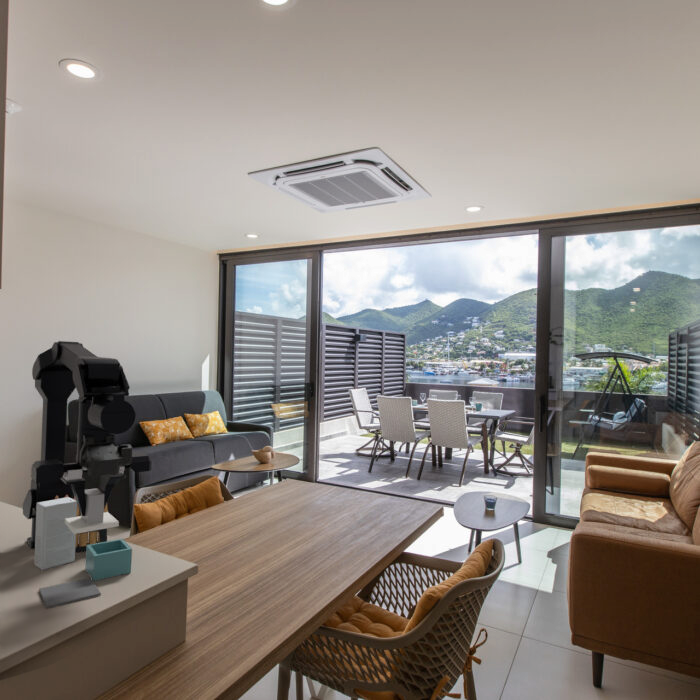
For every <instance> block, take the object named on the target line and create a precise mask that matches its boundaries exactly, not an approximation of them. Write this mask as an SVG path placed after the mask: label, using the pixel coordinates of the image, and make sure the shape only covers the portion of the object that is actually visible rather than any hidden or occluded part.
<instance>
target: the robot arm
mask: <svg viewBox="0 0 700 700" xmlns="http://www.w3.org/2000/svg"><path fill="white" fill-rule="evenodd" d="M32 365H33V366H32V369H31V370H32V371H31V372H32V373H31V374H32V375H31V376H32V380H34V388H35V389H36V391H37V392H38V393H39V395H40V397H41V398H42V417H41V443H40V445H41V446H40V460H36V461H34V462H33V464H32V465H31V470H30V473H31V474H30V478H31V480H30V488H29V489H28V490H27V493H26V496H25V498H24V501H23V503H22V515H23V517H25V518H26V519H27V520H31V531H30V533H31V534H30V536H29V537H27V538H26V541H27V543H28V546H29V548H30V549H34V550H35V533H36V505H37V503H38V502H44V501H49V500H55V497H56V496H58V498H59V499H60V498H65V496H66V495H68V497H69V498H72V499H74V496H75V498H76V501H77V504H78V507H79V514H81V515H82V516H85V512H86V503H85V490H86V489H85V487H86V482H87V480H86V479H85V478H84V477H83V473H84V474H85V473H87V475H88V476H90V477H92V478H100V480H99V482H100V483H99V490H100V491H101V492H102V493H104V508H105V506H106V503H107V504H108V501H109V498H110V496H111V493H112V491H113V489H114V488H115V486H116V484H118V482H119V481H120V480H121V479H126V478H127V477H126V476H127V474H125V473H124V471H125V469H130V470H131V471H132V472H134V473H135V474H136V473H144V472H150V471H152V458H151V457H150V455H148V454H145V453H144V452H141V451H139V452H137V451H136V452H133V447H132V445H131V444H129V443H128V444H127V443H126V444H119V445H117V446H116V442H115V441H116V440H115V435H121V434H123V433H126V432H128V430H130V429H131V428H132V426H133V425H134V423H135V421H136V415H137V413H136V412H135V409H134V406H132V405H133V404H131V403H130V402H128V401H126V400H125V397H129V396H130V392H129V391H130V390H129V389H130V385H129V382H128V379H127V377H126V374H125V371H124V368H123V366H122V365H121V363H120V361H119V360H118V359H116V358H112V357H103V356H97V355H96V354H94V353H92V351H90V350H89V349H87V348H85V347H84V345H83V343H80V342H78V341H64V340H62V341H61V340H58V341H54V343H53V344H52V346H51V347H50V348H49V349H47V350H45V351H43V352H41V353H39V354H38V355H37V357H36V359H35V361H34V362H33V364H32ZM75 390H76V391H77V394H78V401H79V402H78V404H79V405H78V421H77V422H78V425H77V432H76V433H77V434H76V439H77V441H76V443H77V444H76V455H75V461H76V462H69V463H68V462H67V463H66V451H67V450H66V449H67V422H68V399H69V398H70V396H72V393H74V391H75Z"/></svg>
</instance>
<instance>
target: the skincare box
mask: <svg viewBox="0 0 700 700" xmlns="http://www.w3.org/2000/svg"><path fill="white" fill-rule="evenodd" d="M76 514H77V501H76V500H74V499H72V498H69V497H66V498H60V499H55V500H49V501H44V502H38V503H37V505H36V533H35V548H34V565H35V566H36V567H38V568H39V569H41V570H43V571H44V570H47V569H50V568H51V569H52V568H55V567H57V566H61V565H62V566H63V565H65V564H69V563H73V562H75V560H76V553H75V540H76V534H73V532H72V531H71V530H70V529H69V528H68V526H67V525H66V524H65V518H72V517H76Z"/></svg>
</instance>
